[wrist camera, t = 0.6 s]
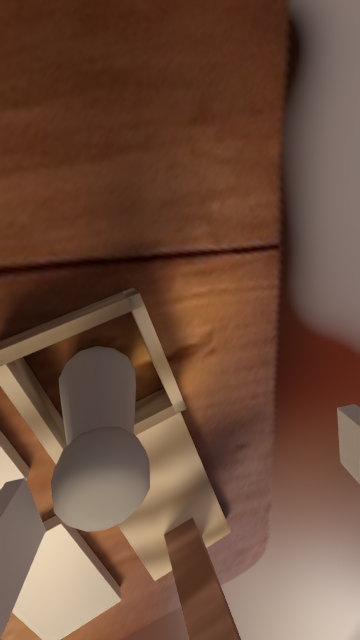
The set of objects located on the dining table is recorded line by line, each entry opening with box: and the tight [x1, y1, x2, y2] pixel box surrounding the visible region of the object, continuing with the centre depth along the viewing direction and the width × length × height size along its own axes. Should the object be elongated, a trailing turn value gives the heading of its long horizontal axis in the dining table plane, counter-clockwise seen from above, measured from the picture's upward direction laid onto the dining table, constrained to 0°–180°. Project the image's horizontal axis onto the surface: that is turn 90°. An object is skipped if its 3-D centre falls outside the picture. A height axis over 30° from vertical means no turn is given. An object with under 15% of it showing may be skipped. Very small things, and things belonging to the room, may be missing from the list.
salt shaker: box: [51, 346, 150, 532], centre depth 17 cm, size 6×6×13 cm
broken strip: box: [0, 430, 121, 640], centre depth 23 cm, size 32×8×1 cm, turn 19°
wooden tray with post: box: [0, 287, 241, 640], centre depth 20 cm, size 32×11×13 cm, turn 19°
